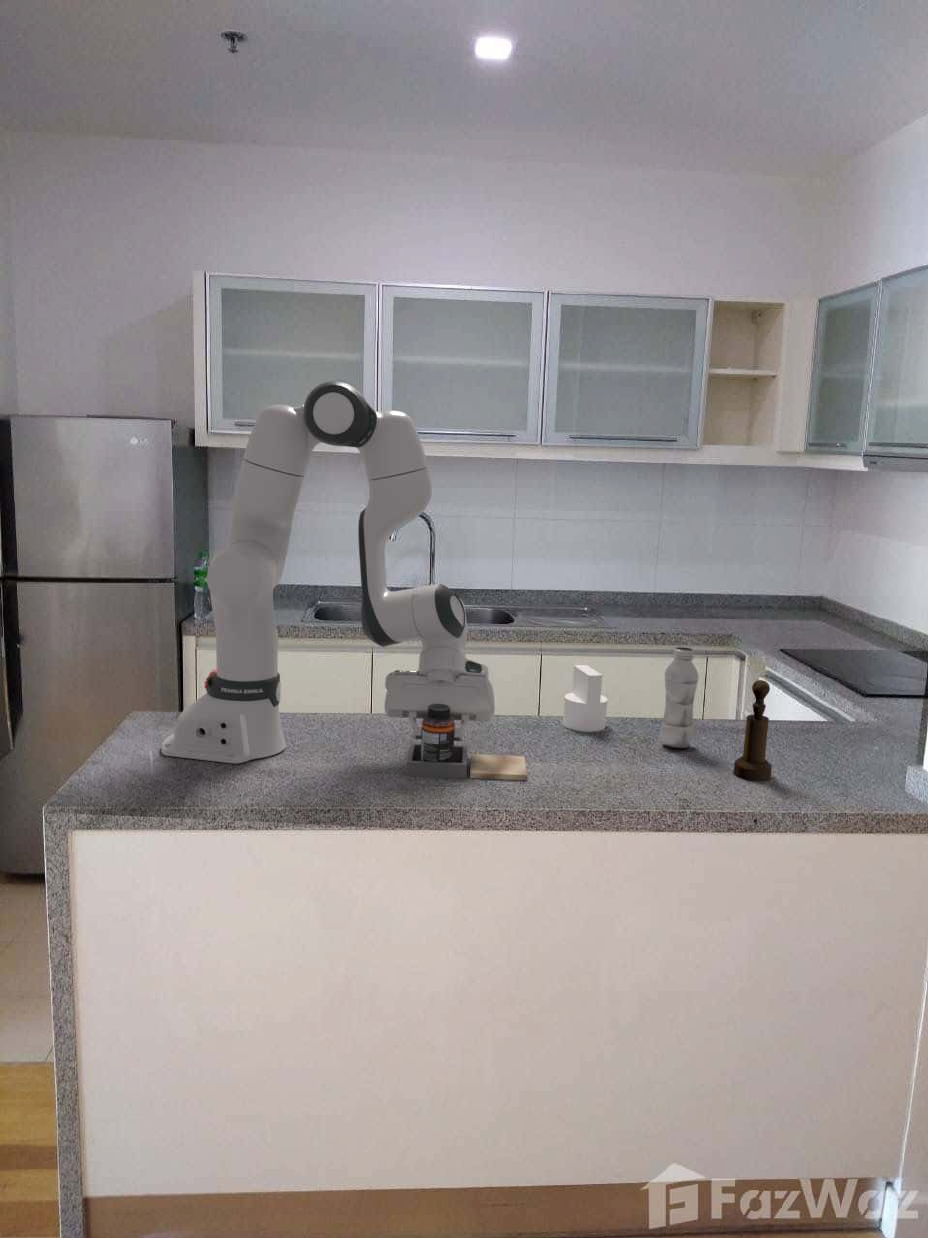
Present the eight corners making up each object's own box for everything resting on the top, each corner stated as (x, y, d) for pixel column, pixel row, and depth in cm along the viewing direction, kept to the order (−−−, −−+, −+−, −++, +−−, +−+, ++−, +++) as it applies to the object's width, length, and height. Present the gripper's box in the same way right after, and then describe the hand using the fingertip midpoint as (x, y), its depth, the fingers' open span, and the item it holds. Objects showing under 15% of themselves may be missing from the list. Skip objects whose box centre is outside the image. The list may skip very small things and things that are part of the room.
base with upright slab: (612, 730, 200) (616, 675, 198) (571, 732, 198) (575, 676, 195) (595, 718, 208) (599, 664, 206) (556, 719, 206) (560, 665, 204)
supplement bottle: (434, 758, 178) (438, 699, 176) (459, 766, 174) (463, 707, 172) (413, 765, 173) (416, 705, 171) (437, 774, 170) (441, 713, 167)
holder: (406, 775, 168) (406, 762, 168) (410, 755, 179) (410, 743, 178) (466, 778, 168) (466, 765, 168) (466, 758, 179) (467, 745, 178)
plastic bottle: (687, 754, 187) (696, 654, 183) (654, 747, 190) (662, 649, 186) (697, 745, 192) (705, 648, 188) (664, 739, 195) (672, 643, 192)
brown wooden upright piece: (759, 768, 180) (769, 676, 177) (777, 780, 174) (788, 685, 170) (727, 769, 179) (736, 676, 175) (744, 782, 172) (754, 685, 169)
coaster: (470, 778, 169) (470, 772, 168) (470, 759, 178) (470, 754, 178) (526, 780, 169) (527, 775, 168) (524, 761, 178) (524, 756, 178)
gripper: (385, 661, 177) (379, 727, 169) (496, 666, 177) (494, 733, 169) (387, 678, 182) (380, 743, 175) (494, 683, 182) (492, 749, 175)
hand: (437, 738), depth 172 cm, fingers closed on supplement bottle, 6 cm apart
